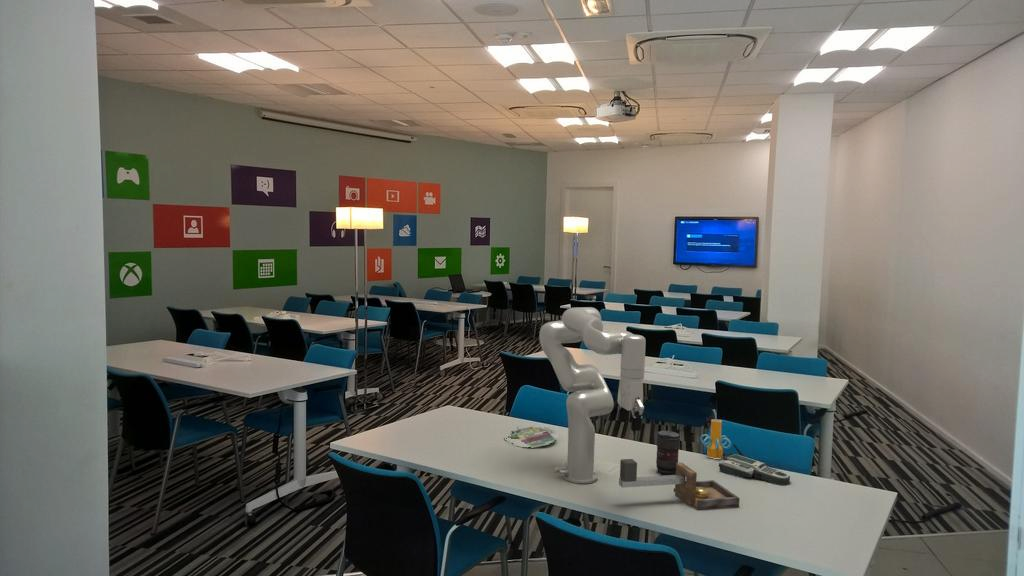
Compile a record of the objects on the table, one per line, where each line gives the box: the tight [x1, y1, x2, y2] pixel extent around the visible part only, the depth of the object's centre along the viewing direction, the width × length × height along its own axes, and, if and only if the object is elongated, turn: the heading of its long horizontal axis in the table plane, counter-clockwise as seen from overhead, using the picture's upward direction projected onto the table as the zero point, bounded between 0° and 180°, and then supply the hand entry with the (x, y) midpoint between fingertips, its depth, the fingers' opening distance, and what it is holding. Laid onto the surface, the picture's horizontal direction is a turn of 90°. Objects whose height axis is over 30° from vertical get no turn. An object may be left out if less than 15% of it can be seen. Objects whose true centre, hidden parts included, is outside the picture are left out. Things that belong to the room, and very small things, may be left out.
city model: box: [506, 426, 559, 449], centre depth 271 cm, size 25×23×6 cm
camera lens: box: [655, 430, 681, 476], centre depth 235 cm, size 8×8×15 cm
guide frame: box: [673, 462, 740, 511], centre depth 211 cm, size 16×16×11 cm
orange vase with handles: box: [700, 418, 732, 459], centre depth 255 cm, size 12×10×15 cm
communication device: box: [718, 443, 791, 486], centre depth 235 cm, size 12×24×9 cm, turn 48°
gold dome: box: [696, 487, 708, 499], centre depth 211 cm, size 4×4×2 cm
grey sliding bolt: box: [618, 458, 686, 489], centre depth 207 cm, size 22×4×8 cm, turn 103°
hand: (629, 425), depth 204 cm, fingers open, 9 cm apart
